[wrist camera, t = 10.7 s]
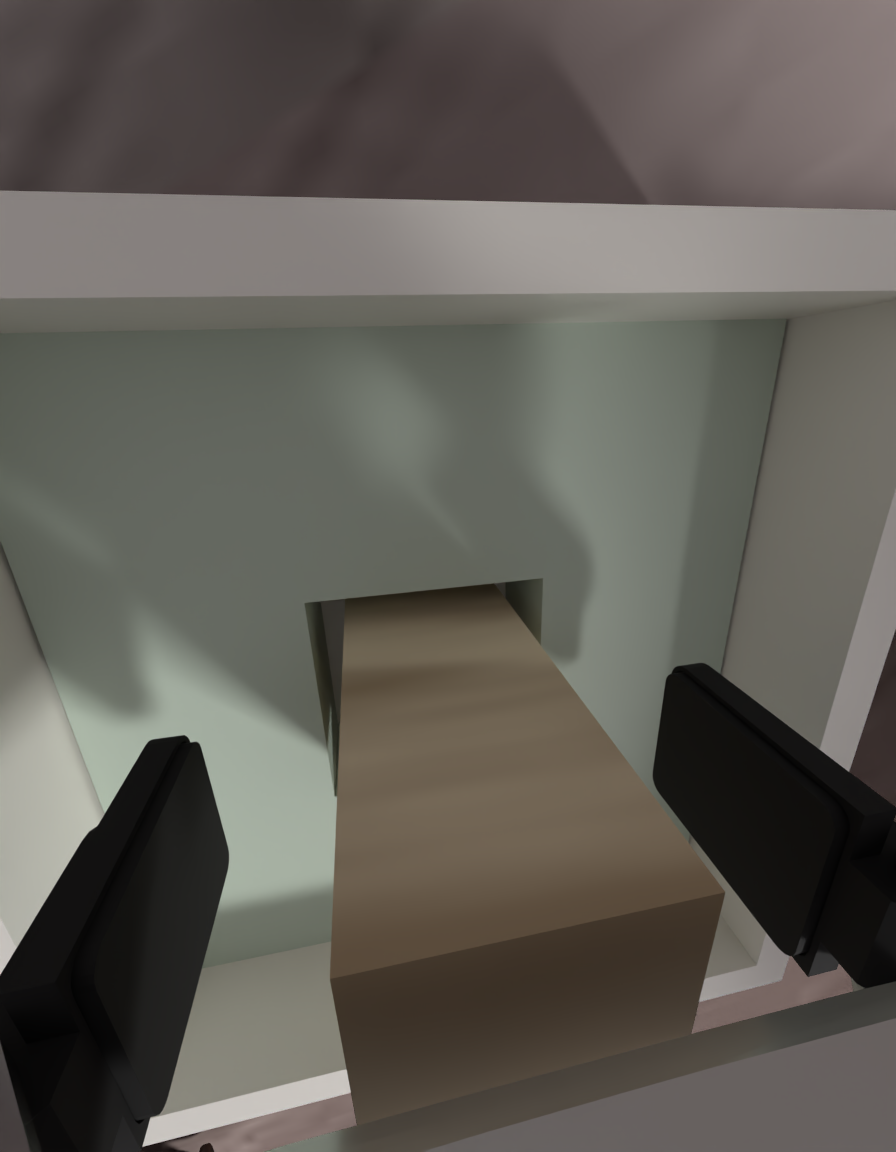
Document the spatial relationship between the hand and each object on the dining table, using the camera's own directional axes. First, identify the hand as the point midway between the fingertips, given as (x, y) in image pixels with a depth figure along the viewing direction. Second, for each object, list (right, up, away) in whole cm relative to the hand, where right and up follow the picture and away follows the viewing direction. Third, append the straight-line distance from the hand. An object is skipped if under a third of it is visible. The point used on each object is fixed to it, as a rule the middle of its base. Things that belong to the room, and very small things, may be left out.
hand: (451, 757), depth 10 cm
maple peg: (-1, +2, +5) cm, 5 cm away
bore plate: (-1, +2, +6) cm, 6 cm away
